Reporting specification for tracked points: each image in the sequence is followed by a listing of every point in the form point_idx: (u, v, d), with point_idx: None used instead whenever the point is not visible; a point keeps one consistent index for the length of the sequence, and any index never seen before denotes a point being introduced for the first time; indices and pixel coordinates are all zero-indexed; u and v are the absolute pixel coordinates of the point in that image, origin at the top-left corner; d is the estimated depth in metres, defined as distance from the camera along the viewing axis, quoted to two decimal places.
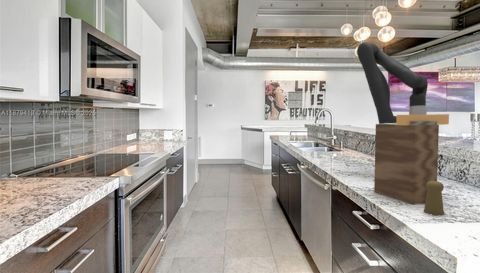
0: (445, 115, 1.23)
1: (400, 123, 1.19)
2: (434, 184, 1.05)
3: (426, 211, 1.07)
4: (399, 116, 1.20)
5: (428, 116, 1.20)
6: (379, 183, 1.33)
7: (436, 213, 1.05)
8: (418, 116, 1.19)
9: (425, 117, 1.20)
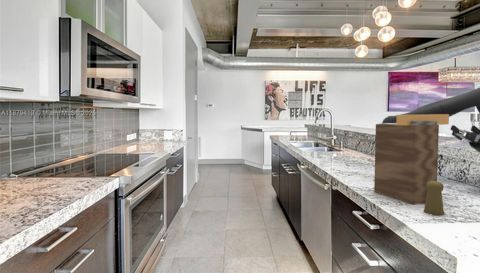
0: (445, 115, 1.23)
1: (400, 123, 1.19)
2: (434, 184, 1.05)
3: (426, 211, 1.07)
4: (399, 116, 1.20)
5: (428, 116, 1.20)
6: (379, 183, 1.33)
7: (436, 213, 1.05)
8: (418, 116, 1.19)
9: (425, 117, 1.20)
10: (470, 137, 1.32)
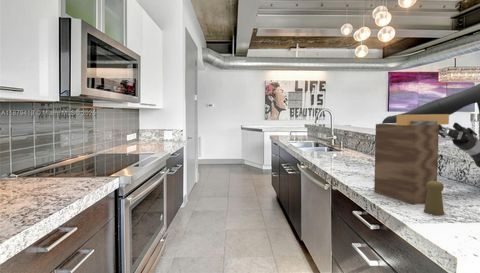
0: (445, 115, 1.23)
1: (400, 123, 1.19)
2: (434, 184, 1.05)
3: (426, 211, 1.07)
4: (399, 116, 1.20)
5: (428, 116, 1.20)
6: (379, 183, 1.33)
7: (436, 213, 1.05)
8: (418, 116, 1.19)
9: (425, 117, 1.20)
10: (453, 134, 1.29)
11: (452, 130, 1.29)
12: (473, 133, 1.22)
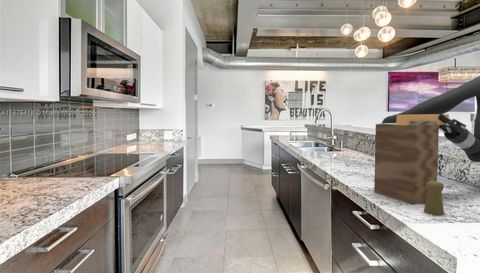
0: (445, 115, 1.23)
1: (400, 123, 1.19)
2: (434, 184, 1.05)
3: (426, 211, 1.07)
4: (399, 116, 1.20)
5: (428, 116, 1.20)
6: (379, 183, 1.33)
7: (436, 213, 1.05)
8: (418, 116, 1.19)
9: (425, 117, 1.20)
10: (444, 127, 1.27)
11: None
12: (460, 124, 1.21)
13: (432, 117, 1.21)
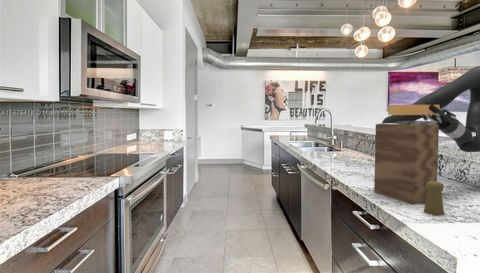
0: (436, 105, 1.27)
1: (391, 113, 1.23)
2: (434, 184, 1.05)
3: (426, 211, 1.07)
4: (391, 106, 1.23)
5: (419, 106, 1.24)
6: (379, 183, 1.33)
7: (436, 213, 1.05)
8: (409, 106, 1.22)
9: (416, 107, 1.24)
10: (435, 118, 1.30)
11: None
12: (450, 114, 1.24)
13: (423, 107, 1.25)
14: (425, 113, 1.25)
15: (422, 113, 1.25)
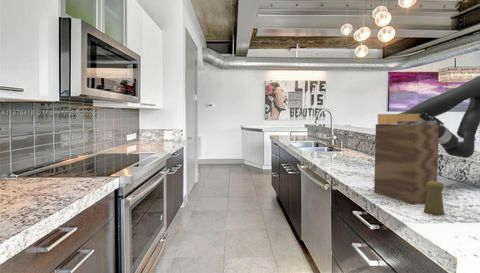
0: None
1: (381, 122, 1.29)
2: (434, 184, 1.05)
3: (426, 211, 1.07)
4: (380, 115, 1.29)
5: (407, 115, 1.30)
6: (379, 183, 1.33)
7: (436, 213, 1.05)
8: (397, 115, 1.28)
9: (404, 116, 1.29)
10: None
11: None
12: (439, 122, 1.30)
13: (411, 116, 1.31)
14: None
15: None
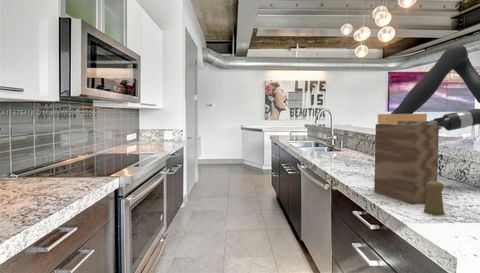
0: (423, 114, 1.33)
1: (381, 122, 1.29)
2: (434, 184, 1.05)
3: (426, 211, 1.07)
4: (380, 115, 1.29)
5: (407, 115, 1.30)
6: (379, 183, 1.33)
7: (436, 213, 1.05)
8: (397, 115, 1.28)
9: (404, 116, 1.29)
10: None
11: None
12: (442, 118, 1.34)
13: (411, 116, 1.31)
14: None
15: None
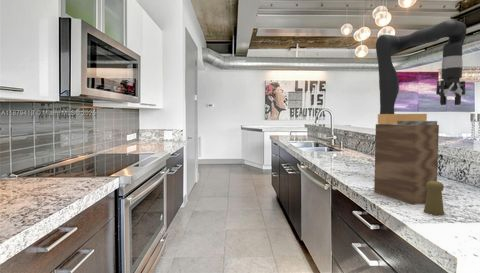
0: (423, 114, 1.33)
1: (381, 122, 1.29)
2: (434, 184, 1.05)
3: (426, 211, 1.07)
4: (380, 115, 1.29)
5: (407, 115, 1.30)
6: (379, 183, 1.33)
7: (436, 213, 1.05)
8: (397, 115, 1.28)
9: (404, 116, 1.29)
10: (453, 88, 1.35)
11: None
12: (438, 86, 1.34)
13: (411, 116, 1.31)
14: None
15: None
